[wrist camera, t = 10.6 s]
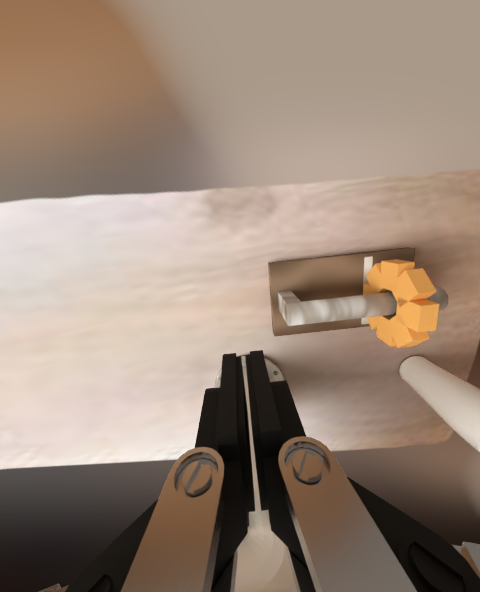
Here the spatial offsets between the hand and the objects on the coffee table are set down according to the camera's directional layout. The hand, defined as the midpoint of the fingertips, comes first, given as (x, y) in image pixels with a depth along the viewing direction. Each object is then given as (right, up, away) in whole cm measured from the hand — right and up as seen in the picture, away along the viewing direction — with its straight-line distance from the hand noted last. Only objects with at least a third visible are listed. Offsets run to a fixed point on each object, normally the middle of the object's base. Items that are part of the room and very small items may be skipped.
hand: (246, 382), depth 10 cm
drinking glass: (+31, -9, +32) cm, 46 cm away
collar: (+20, +4, +25) cm, 33 cm away
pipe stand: (+16, +4, +27) cm, 32 cm away
